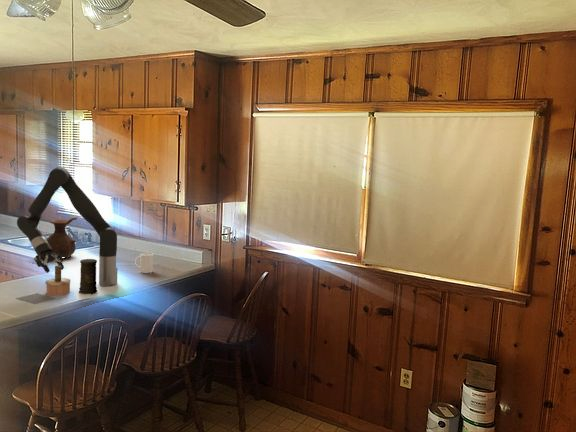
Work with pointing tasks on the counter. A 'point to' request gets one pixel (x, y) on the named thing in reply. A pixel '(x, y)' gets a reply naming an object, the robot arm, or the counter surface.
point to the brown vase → (62, 238)
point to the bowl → (58, 289)
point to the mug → (145, 262)
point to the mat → (36, 298)
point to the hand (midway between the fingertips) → (55, 270)
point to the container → (88, 276)
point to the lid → (57, 278)
